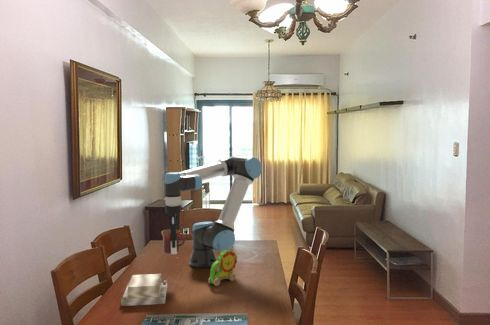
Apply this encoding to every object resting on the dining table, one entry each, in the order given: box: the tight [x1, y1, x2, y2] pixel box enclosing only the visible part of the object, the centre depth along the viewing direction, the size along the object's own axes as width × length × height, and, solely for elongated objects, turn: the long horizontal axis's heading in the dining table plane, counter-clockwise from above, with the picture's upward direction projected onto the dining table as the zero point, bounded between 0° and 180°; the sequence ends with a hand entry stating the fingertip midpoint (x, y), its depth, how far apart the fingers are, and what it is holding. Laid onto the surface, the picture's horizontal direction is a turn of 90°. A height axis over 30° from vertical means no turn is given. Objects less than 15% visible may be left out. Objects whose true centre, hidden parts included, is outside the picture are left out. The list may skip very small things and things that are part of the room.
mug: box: [161, 228, 186, 255], centre depth 202 cm, size 12×9×10 cm
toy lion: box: [208, 249, 238, 287], centre depth 205 cm, size 16×5×15 cm, turn 134°
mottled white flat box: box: [120, 273, 168, 307], centre depth 186 cm, size 18×18×8 cm
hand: (174, 251), depth 203 cm, fingers closed on mug, 7 cm apart
